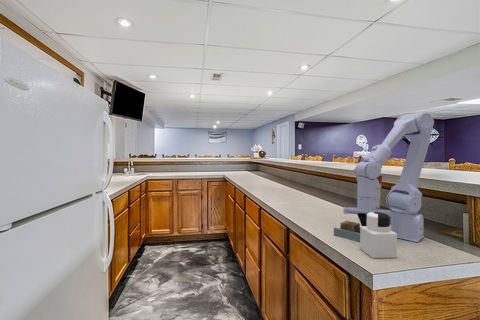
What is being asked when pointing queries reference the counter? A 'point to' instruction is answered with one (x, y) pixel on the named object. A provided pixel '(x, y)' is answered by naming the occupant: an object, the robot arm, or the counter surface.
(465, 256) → the counter surface
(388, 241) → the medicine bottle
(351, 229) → the walnut block
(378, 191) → the liquor
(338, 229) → the chute
